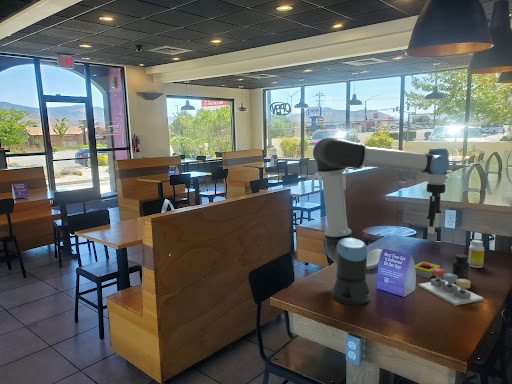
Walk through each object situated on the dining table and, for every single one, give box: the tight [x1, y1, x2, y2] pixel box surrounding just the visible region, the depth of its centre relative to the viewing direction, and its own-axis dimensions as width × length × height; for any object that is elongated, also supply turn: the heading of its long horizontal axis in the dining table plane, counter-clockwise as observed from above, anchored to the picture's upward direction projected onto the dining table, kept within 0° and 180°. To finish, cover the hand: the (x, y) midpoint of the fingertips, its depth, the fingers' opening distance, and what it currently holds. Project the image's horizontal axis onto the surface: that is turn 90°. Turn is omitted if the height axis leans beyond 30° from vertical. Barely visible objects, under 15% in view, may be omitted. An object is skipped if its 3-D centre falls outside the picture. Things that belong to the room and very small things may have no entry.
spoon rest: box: [366, 248, 383, 271], centre depth 194 cm, size 24×12×7 cm, turn 132°
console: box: [418, 278, 484, 306], centre depth 159 cm, size 14×20×3 cm
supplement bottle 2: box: [467, 239, 485, 269], centre depth 190 cm, size 7×7×13 cm
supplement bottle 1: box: [451, 253, 471, 284], centre depth 170 cm, size 7×7×12 cm
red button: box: [432, 267, 446, 280], centre depth 165 cm, size 5×5×4 cm
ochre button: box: [455, 279, 471, 291], centre depth 153 cm, size 5×5×4 cm
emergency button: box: [415, 261, 441, 279], centre depth 184 cm, size 9×4×15 cm
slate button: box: [443, 272, 457, 285], centre depth 159 cm, size 5×5×4 cm
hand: (433, 230), depth 172 cm, fingers open, 13 cm apart
